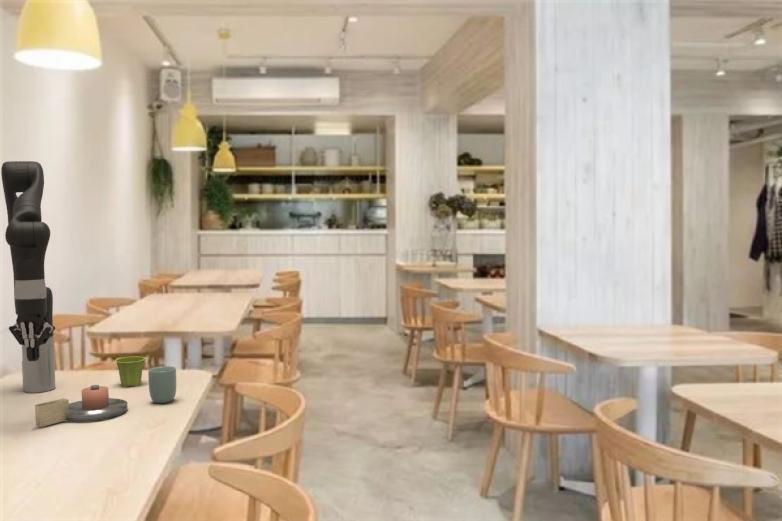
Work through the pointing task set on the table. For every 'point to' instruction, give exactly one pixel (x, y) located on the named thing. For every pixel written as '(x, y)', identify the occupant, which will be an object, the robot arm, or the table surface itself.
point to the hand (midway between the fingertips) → (33, 360)
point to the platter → (75, 411)
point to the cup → (162, 384)
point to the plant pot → (130, 370)
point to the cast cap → (95, 397)
